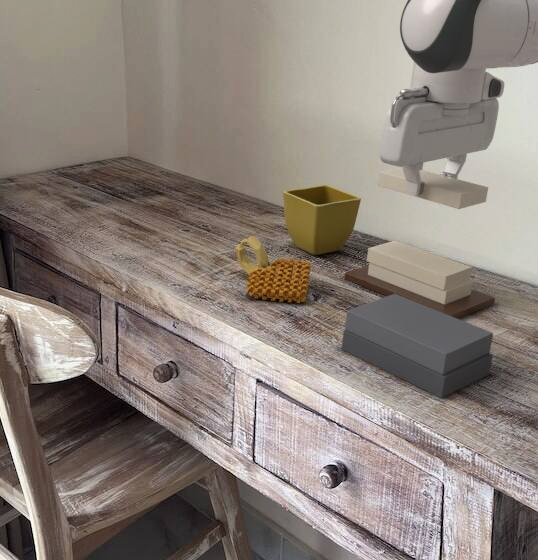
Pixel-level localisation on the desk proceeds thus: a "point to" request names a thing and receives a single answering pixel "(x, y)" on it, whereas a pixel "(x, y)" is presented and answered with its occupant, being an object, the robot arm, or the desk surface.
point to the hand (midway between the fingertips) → (431, 190)
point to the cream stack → (420, 279)
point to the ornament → (273, 274)
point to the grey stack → (418, 344)
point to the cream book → (437, 188)
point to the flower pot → (320, 217)
